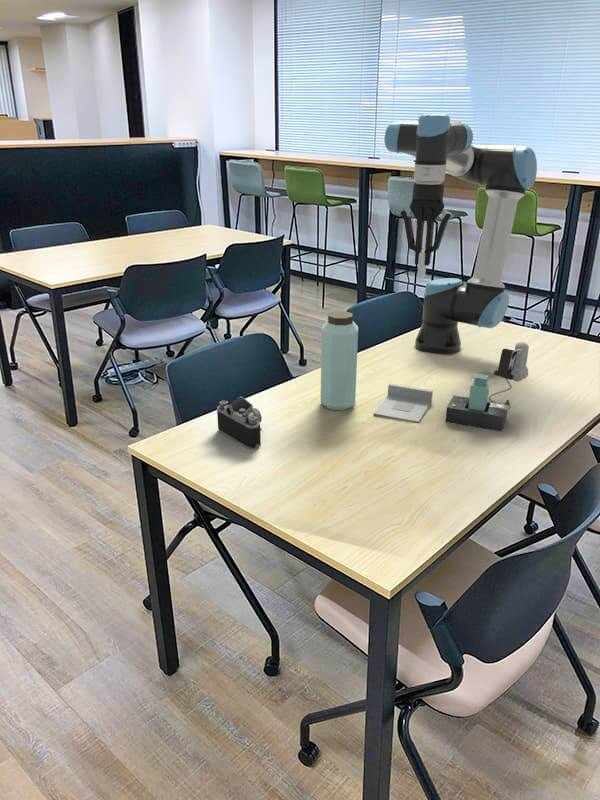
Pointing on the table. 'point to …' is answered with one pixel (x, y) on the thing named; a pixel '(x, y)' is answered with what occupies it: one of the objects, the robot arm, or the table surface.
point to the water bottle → (339, 361)
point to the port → (477, 414)
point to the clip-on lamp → (513, 365)
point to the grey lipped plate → (405, 403)
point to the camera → (240, 422)
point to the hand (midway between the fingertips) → (421, 277)
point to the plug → (479, 393)
